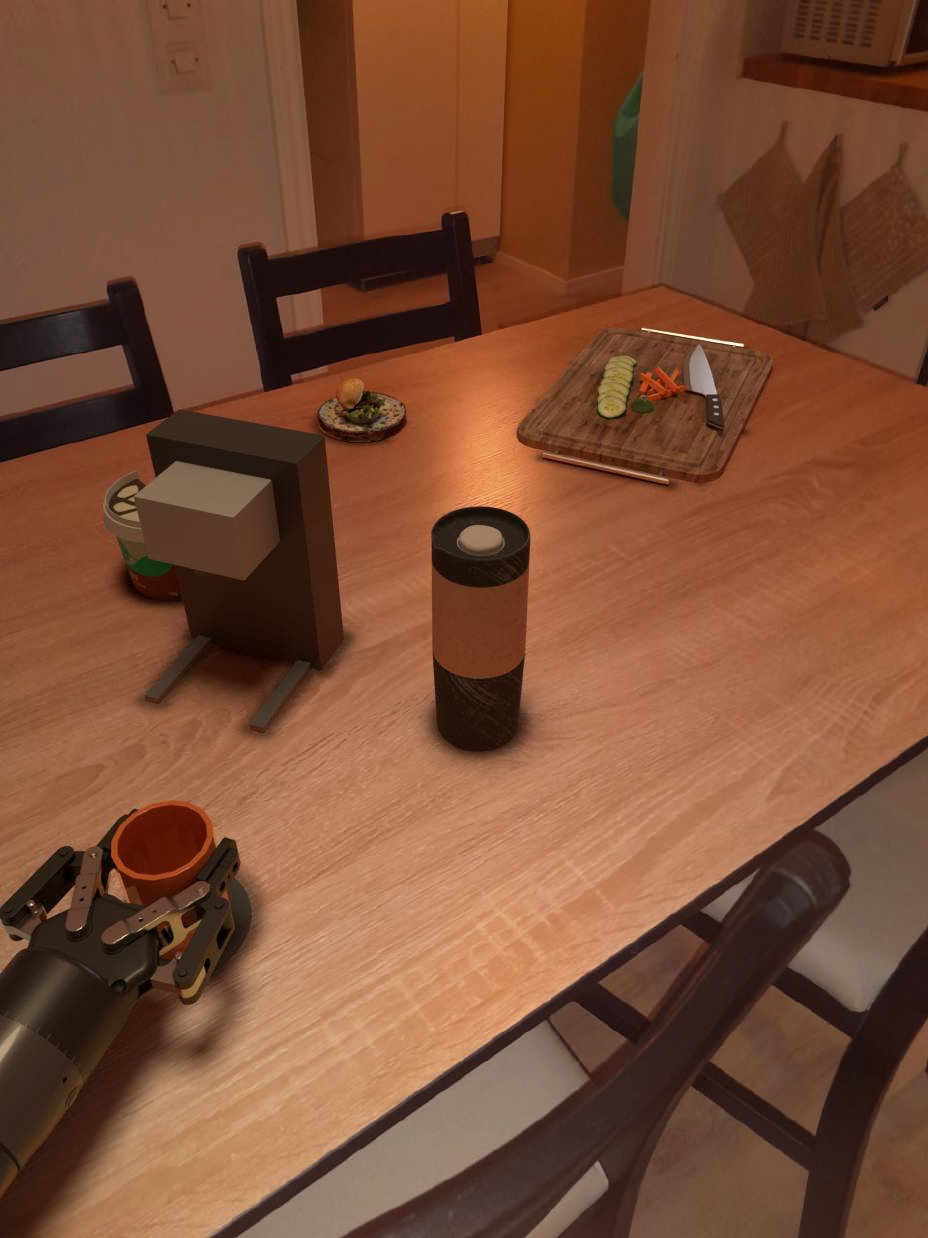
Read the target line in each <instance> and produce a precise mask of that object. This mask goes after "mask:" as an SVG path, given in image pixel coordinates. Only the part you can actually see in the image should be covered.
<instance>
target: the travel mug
mask: <svg viewBox="0 0 928 1238" xmlns="http://www.w3.org/2000/svg"><path fill="white" fill-rule="evenodd" d="M430 533H431V534H430V539H431V544H430V545H431V547H430V548H431V650H432V652H431V653H432V669H433V684H434V685H433V686H434V697H435V698H434V699H435V701H434V703H435V715H436V724H437V729H438V732H439V733H440V735H441V736H442V738H443V739H444V740H445V741H446V742H447V743H448V744H450V745H452V746H454V747H455V748H458V749H459V750H460V749H461V750H463V751H469V752H487V751H488V752H489V751H492V750H495V749H498V748H501V747H503V746H504V745H506V744H507V743H508V742H510V741H511V740H512V739H513V738H514V736H515V735H516V733H517V730H518V726H519V719H520V711H521V710H520V709H521V702H522V701H521V700H522V691H523V690H522V689H523V681H524V670H525V669H524V668H525V659H526V649H527V629H528V628H527V626H528V625H527V623H528V607H529V606H528V604H529V603H528V602H529V580H530V579H529V578H530V559H531V540H532V539H531V530H530V528H529V526H528V524H527V522H526V521H525V520H523V519H522V517H521V516H519V515H517V514H516V513H513V512H511V511H509V510H506V509H503V508H499V507H494V506H483V505H482V506H481V505H479V506H478V505H477V506H467V507H461V508H458V509H455V510H452V511H450V512H447V513H446V514H443V515H442V516H441V517H440V518H439V519H438V520H436V522H434V524H433V526H432V528H431V532H430Z"/></svg>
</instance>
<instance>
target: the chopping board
mask: <svg viewBox="0 0 928 1238" xmlns="http://www.w3.org/2000/svg"><path fill="white" fill-rule="evenodd" d="M773 364H774V359H773V358H772V357H771V356H770V354H767V353H765V352H763V351H759V350H755V349H749V348H745V344H744V343H739V342H734V341H726V340H721V339H716V338H709V337H703V336H697V335H692V334H686V333H679V332H675V331H673V332H672V331H667V330H662V329H661V330H660V329H657V328H656V329H655V328H649V327H645V326H644V327H641V329H640V330H637V329H630V328H626V327H625V328H623V327H608V328H605V329H602V330H600V331H599V332H598V333H596V334H595V336H594V337H593V338H592V339H591V340H590V341H589V342H588V344H587V345H586V346H585V347H584V348H583V349H582V351H581V352H580V353H579V354H578V355H577V357H575V359H574V360H573V361H572V362H571V363H570V364H569V365H568V367H567V368H566V369H565V370H564V371H563V372H562V374H561V375H560V376H559V377H558V378H557V380H555V382H554V383H553V384H552V385H551V386H550V387H549V389H547V391H546V392H545V393H544V394H543V395H542V397H541V398H540V399H539V400H538V401H537V402H536V403H535V404H534V406H533V407H532V408H531V409H529V411H528V412H527V414H526V415H525V416H524V417H523V418H522V419H521V420H520V422H518V424H517V427H516V438H517V440H518V442H519V443H520V444H522V445H523V446H526V447H529V448H532V449H535V450H540V451H543V452H542V458H543V459H548V460H553V461H557V462H560V463H566V464H570V465H576V466H581V467H585V468H588V469H593V470H599V471H603V472H608V473H612V474H617V475H621V476H624V477H625V476H626V477H630V478H635V479H639V480H644V481H649V482H652V483H658V484H662V485H667V486H668V485H669V484H670V480H671V479H674V480H679V481H685V482H688V483H697V484H702V483H710V482H713V481H715V480H718V479H719V478H720V477H721V476H722V475H723V473H724V470H725V469H726V466H727V464H728V463H729V460H730V458H731V456H732V454H733V452H734V449H736V448H735V447H736V446H737V443H738V442H739V439H740V437H741V435H742V433H743V431H744V428H745V427H746V425H747V422H748V421H749V418H750V416H751V414H752V412H753V411H754V408H755V405H756V404H757V401H758V400H759V397H760V395H761V393H762V391H763V389H764V387H765V385H766V384H767V381H768V379H769V377H770V374H771V372H772V371H773V370H772V369H773Z"/></svg>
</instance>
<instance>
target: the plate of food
mask: <svg viewBox="0 0 928 1238" xmlns="http://www.w3.org/2000/svg"><path fill="white" fill-rule="evenodd" d="M337 374H338V375H339V378H340V379H341V380H342V382H340V383H339V384H338V386H337V388H336V392H335V397H332V398H329V399H328V400H326V401H324V402H323V403H321V405H320V407H319V408H318V411H317V414H316V415H317V426H318V428H319V430H320V431H321V432H322V433H323V434H324V435H326V436H328V437H330V438H332V439H336V440H339V441H343V442H350V443H370V442H372V441H375V442H377V441H381V440H383V438H384V436H385V433H386V431H388V430H389V429H392V428H394V427H397V426H398V425H399V424H400V422H401V421H402V420H403V419H404V418H405V416H406V413H407V408H406V405H405V403H403V401H400V400H399V399H397V398H396V397H394V396H391V395H388V394H386V393H382V392H379V391H378V392H377V391H373V390H372V391H371V390H370V389H365V386H364V382H363V380H362V379H360V378H355V377H354V378H348V379H345V380H343V378H342V377H341V375H340V373H339V371H337Z"/></svg>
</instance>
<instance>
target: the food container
mask: <svg viewBox="0 0 928 1238" xmlns="http://www.w3.org/2000/svg"><path fill="white" fill-rule="evenodd" d="M145 486H147V484H146V483H144V482H143V481H141V480H140V476H139V472H138V470H137V469H135V470H133V471H132V472H129V473H127V474H124V475H123V476H121V477H120V478H118V479H117V480H116V481H115V482H113V483H112V484H111V485H110V487H108V489H107V491H106V492H105V496H104V499H103V502H102V503H103V504H102V514H103V515H102V518H103V524H104V526H105V528H106V529H107V531H109V532H110V533H111V534H112V535H114V536H116V540H117V543H118V546H119V548H120V551H121V554H122V557H123V559H124V562H125V564H126V567H127V571H128V573H129V577H130V579H131V581H132V584H133V587H134V589H135V590H136V591H137V592H138V593H140V594H141V595H142V596H145V597H146V598H150V599H152V600H159V601H176V600H183V599H182V594H181V590H180V586H179V581H178V577H177V572H176V568H175V565H174V564H170V563H166V562H161V561H157V560H153V559H149V558H148V554H147V549H146V545H145V541H144V537H143V533H142V529H141V525H140V521H139V516H138V512H137V508H136V504H135V500H134V496H135V495H136V494H137V493H138V492H139V491H141V490H142V489H143V488H144V487H145Z"/></svg>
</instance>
